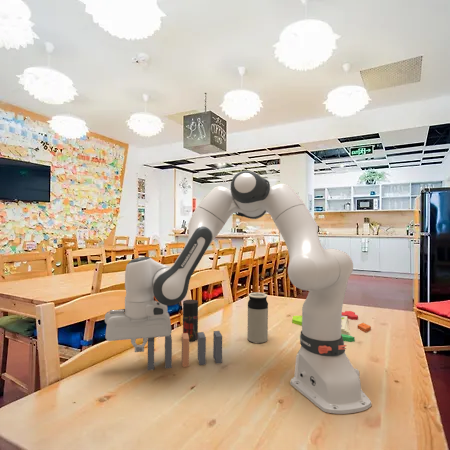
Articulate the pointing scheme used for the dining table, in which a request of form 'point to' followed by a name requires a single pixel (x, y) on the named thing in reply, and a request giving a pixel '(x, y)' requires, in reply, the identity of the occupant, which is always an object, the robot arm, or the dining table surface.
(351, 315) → the pattern blocks set
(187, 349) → the domino
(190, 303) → the deodorant
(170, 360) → the domino
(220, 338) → the domino
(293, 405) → the dining table surface
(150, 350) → the domino
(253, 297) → the travel mug
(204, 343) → the domino
